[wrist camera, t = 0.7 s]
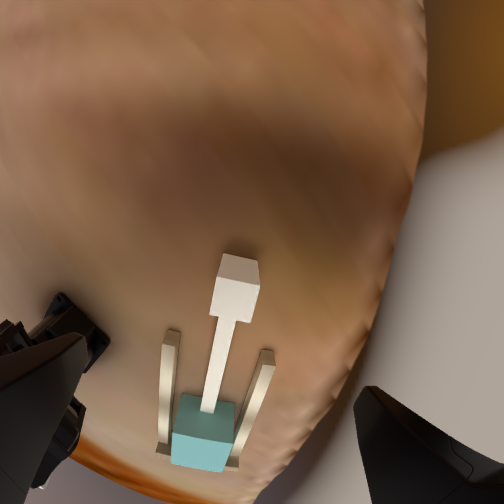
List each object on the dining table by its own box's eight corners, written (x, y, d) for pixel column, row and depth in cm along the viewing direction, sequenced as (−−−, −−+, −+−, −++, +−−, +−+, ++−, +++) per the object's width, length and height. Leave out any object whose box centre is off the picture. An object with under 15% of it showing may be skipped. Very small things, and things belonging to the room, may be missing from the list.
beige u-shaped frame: (237, 447, 25) (236, 471, 22) (162, 433, 25) (155, 456, 21) (273, 351, 21) (277, 379, 18) (168, 329, 21) (156, 355, 17)
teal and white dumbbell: (224, 436, 25) (222, 472, 20) (178, 427, 24) (170, 463, 20) (275, 264, 19) (284, 294, 15) (205, 249, 19) (191, 274, 14)
